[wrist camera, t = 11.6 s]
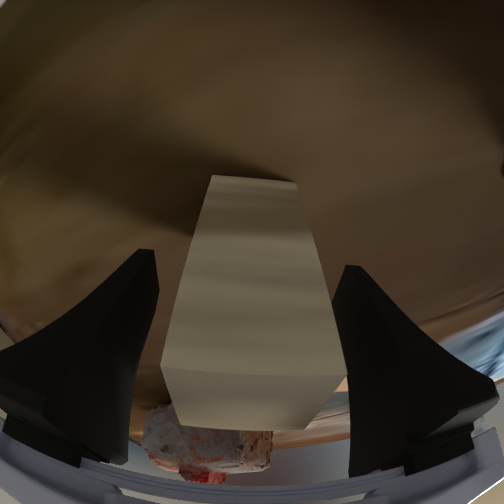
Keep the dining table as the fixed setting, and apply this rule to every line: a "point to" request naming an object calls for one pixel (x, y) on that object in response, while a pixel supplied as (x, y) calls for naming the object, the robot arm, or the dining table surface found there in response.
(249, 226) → the beech stick
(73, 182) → the dining table surface
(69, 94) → the dining table surface
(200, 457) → the food item
